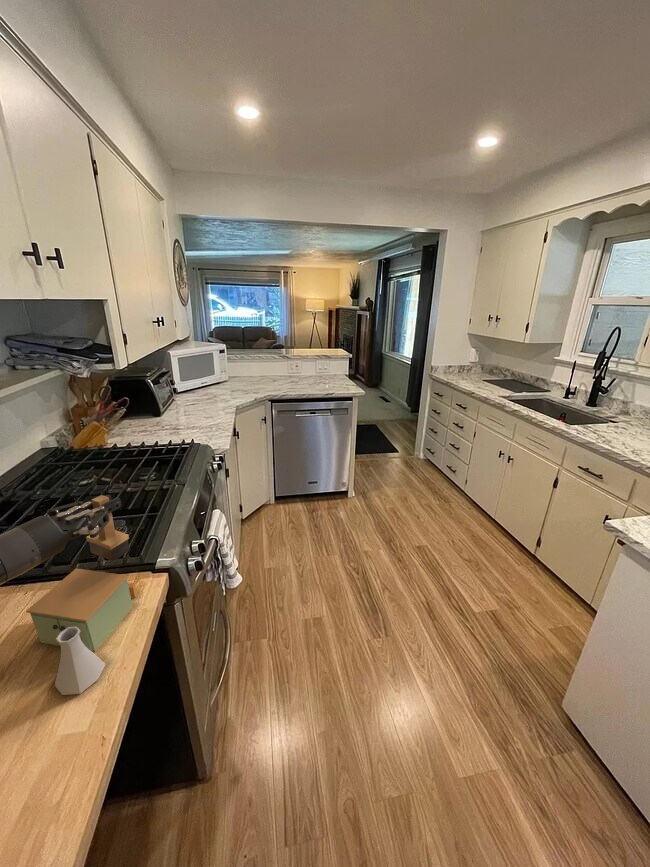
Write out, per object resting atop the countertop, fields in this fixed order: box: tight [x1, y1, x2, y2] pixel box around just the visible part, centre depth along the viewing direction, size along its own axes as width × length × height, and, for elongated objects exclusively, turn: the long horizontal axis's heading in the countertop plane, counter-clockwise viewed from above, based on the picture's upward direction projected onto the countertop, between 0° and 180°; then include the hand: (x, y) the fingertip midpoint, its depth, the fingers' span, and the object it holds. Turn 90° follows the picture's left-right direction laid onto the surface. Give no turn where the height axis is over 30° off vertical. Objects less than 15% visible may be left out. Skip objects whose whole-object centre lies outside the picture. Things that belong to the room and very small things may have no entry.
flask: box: [54, 627, 106, 696], centre depth 62 cm, size 7×7×10 cm
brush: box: [86, 494, 130, 562], centre depth 75 cm, size 4×7×13 cm, turn 67°
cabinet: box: [25, 567, 134, 653], centre depth 72 cm, size 13×12×8 cm
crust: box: [128, 582, 137, 599], centre depth 80 cm, size 3×3×2 cm
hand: (114, 500), depth 76 cm, fingers closed on brush, 2 cm apart
